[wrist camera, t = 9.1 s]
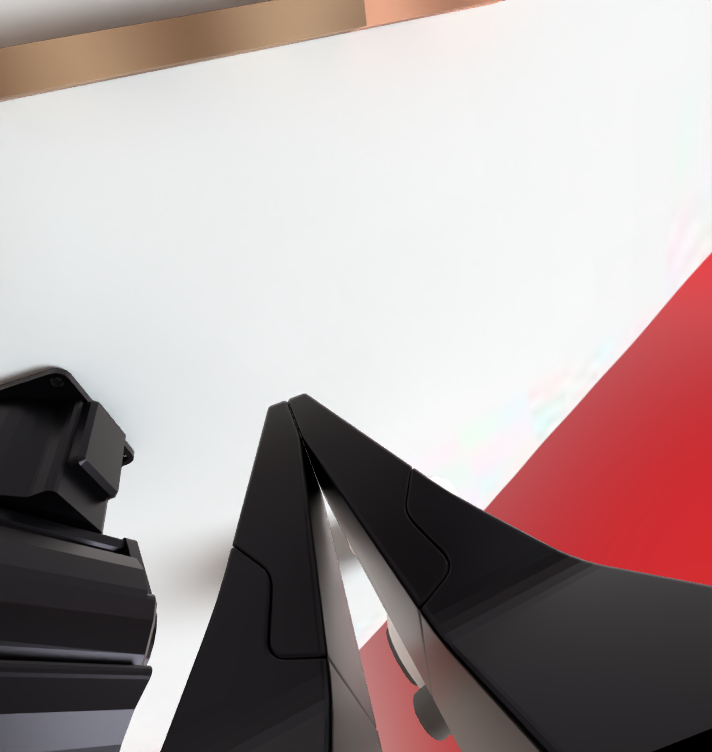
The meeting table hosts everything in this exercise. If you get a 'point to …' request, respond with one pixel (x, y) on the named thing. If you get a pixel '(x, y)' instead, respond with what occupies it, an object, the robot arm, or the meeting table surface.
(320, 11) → the wooden frame
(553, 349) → the meeting table surface
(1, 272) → the meeting table surface
